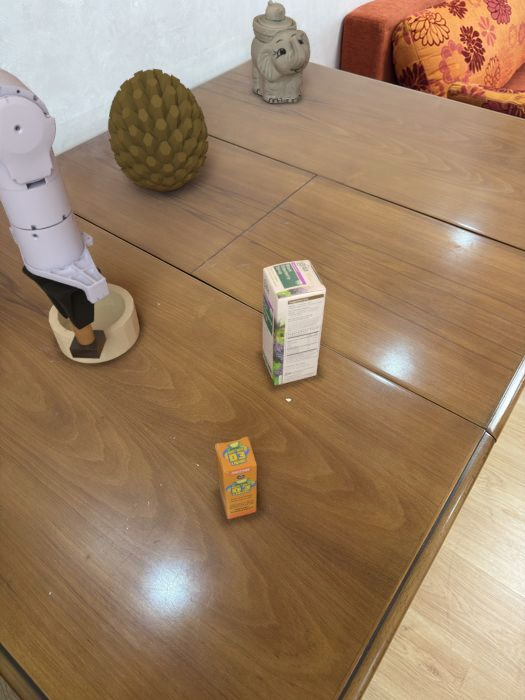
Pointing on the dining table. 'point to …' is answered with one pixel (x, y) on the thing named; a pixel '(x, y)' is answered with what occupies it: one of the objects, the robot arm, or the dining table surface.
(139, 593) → the dining table surface
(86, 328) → the wooden handle stamp
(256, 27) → the grey elephant figurine
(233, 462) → the supplement box
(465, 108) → the dining table surface
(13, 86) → the robot arm
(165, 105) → the decorative object
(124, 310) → the cream ceramic ramekin
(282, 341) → the syrup box
